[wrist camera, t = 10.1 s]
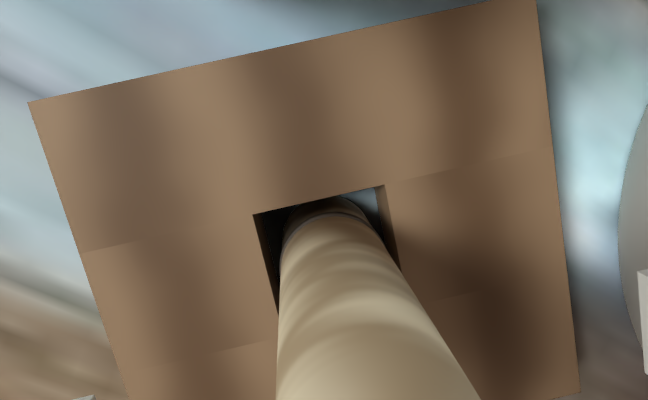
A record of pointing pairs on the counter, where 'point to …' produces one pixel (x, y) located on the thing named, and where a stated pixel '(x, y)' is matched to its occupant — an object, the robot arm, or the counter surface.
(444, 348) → the peg
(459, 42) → the board
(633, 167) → the bowl
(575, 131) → the counter surface
